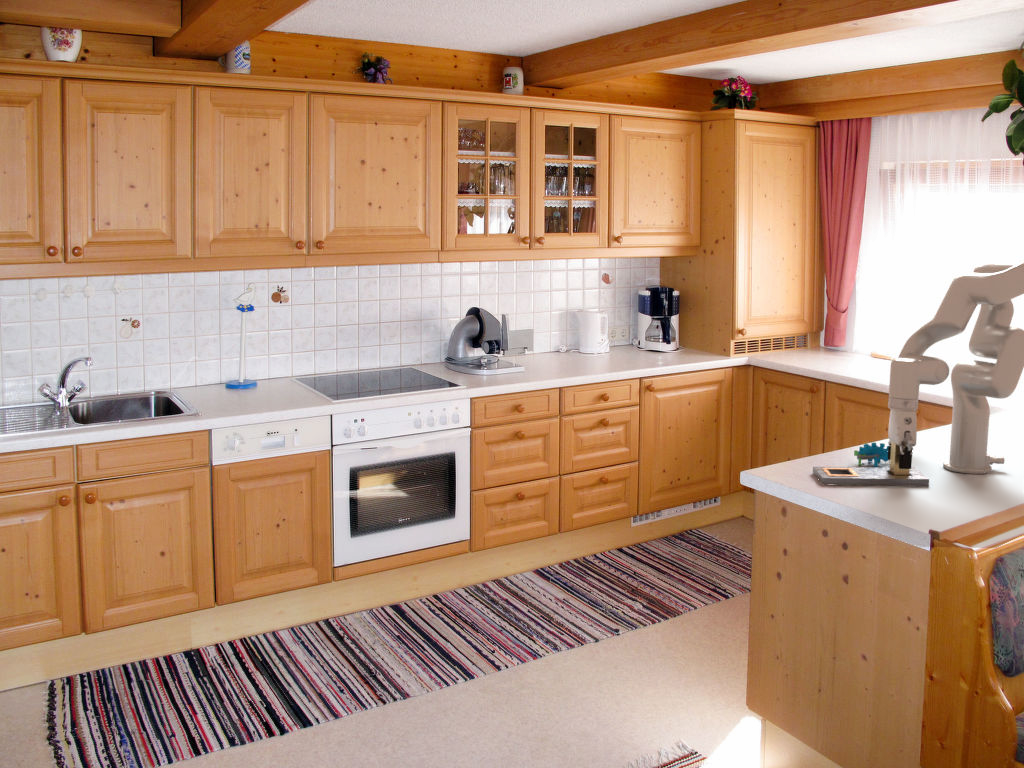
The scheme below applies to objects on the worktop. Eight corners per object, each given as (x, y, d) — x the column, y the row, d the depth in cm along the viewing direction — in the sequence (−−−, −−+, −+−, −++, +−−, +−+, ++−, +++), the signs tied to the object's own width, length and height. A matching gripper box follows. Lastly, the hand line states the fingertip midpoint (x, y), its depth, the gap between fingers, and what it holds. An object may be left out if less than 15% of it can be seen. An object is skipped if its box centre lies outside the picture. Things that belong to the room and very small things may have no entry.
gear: (896, 458, 274) (891, 439, 267) (896, 475, 271) (891, 457, 264) (857, 459, 279) (851, 441, 272) (856, 476, 276) (851, 458, 269)
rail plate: (914, 474, 262) (914, 467, 262) (928, 486, 250) (929, 478, 250) (812, 473, 265) (813, 466, 264) (822, 485, 253) (822, 477, 252)
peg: (904, 478, 258) (906, 436, 256) (908, 482, 254) (911, 439, 252) (889, 478, 259) (891, 436, 257) (893, 482, 255) (896, 439, 253)
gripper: (928, 409, 244) (923, 472, 247) (907, 398, 261) (903, 456, 264) (898, 409, 245) (894, 472, 248) (879, 397, 262) (876, 456, 265)
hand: (899, 464), depth 256 cm, fingers open, 9 cm apart
